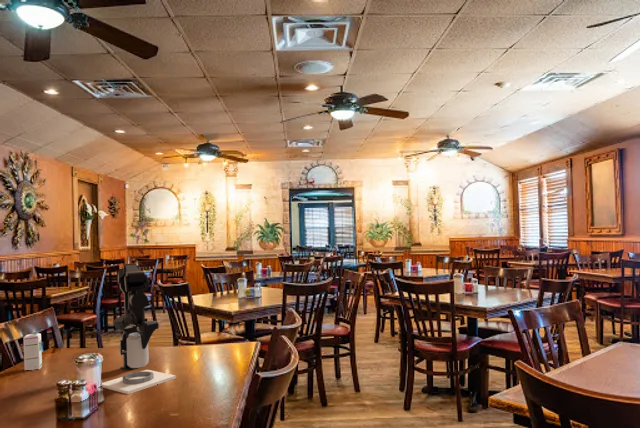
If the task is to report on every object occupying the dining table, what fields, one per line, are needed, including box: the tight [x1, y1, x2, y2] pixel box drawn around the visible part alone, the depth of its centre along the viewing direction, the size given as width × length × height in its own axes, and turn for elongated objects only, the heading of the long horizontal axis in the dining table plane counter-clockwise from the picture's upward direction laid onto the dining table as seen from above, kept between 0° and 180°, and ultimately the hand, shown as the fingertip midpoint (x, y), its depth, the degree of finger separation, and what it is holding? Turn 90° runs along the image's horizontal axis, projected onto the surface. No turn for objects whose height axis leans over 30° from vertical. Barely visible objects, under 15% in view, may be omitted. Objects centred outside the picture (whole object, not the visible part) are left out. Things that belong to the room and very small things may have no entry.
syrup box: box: [23, 332, 43, 371], centre depth 203 cm, size 6×6×14 cm
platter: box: [101, 369, 177, 395], centre depth 177 cm, size 18×20×2 cm
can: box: [127, 332, 150, 369], centre depth 177 cm, size 8×8×12 cm
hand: (137, 347), depth 177 cm, fingers closed on can, 7 cm apart
